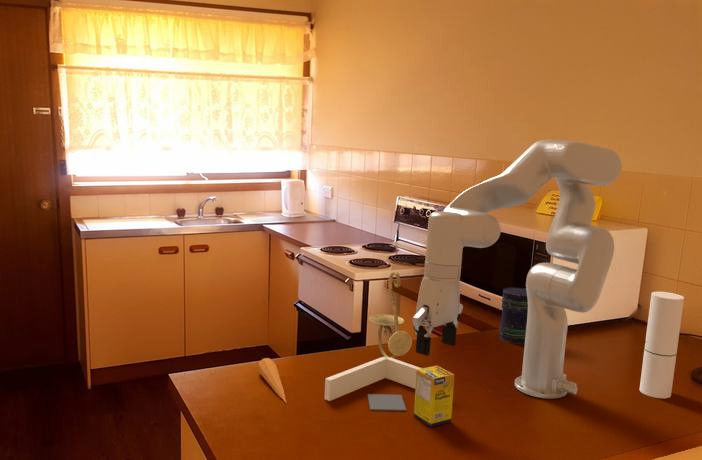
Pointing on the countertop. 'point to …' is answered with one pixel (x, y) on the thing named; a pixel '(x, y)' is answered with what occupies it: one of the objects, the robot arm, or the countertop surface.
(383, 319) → the wall sconce
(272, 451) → the countertop surface
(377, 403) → the mat
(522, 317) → the storage jar
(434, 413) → the supplement box
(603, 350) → the countertop surface
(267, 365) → the carrot
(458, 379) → the countertop surface
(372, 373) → the white angled corner barrier
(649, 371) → the cylindrical container
